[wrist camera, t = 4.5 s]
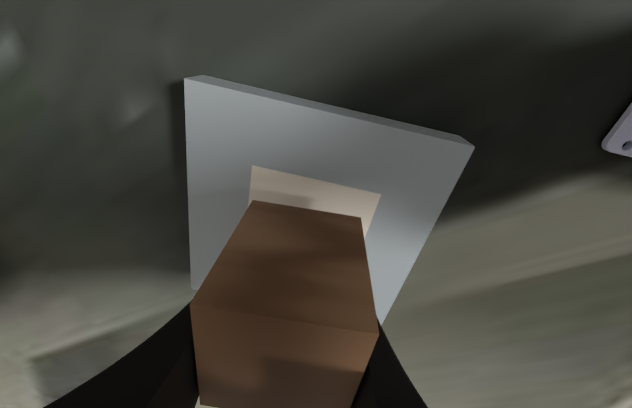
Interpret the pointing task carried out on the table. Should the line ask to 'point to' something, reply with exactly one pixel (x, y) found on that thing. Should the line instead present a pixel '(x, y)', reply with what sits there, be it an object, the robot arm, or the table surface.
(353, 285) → the walnut block
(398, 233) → the base board
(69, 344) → the table surface
